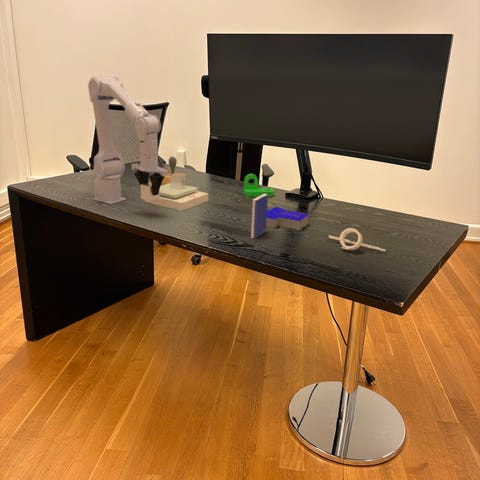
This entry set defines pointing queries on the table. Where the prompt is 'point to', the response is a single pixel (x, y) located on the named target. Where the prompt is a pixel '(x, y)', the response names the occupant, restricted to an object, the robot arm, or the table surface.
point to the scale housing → (181, 201)
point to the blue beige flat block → (286, 218)
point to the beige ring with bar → (357, 245)
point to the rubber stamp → (172, 165)
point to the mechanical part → (255, 188)
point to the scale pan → (175, 191)
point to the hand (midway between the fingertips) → (150, 193)
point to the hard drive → (259, 216)
